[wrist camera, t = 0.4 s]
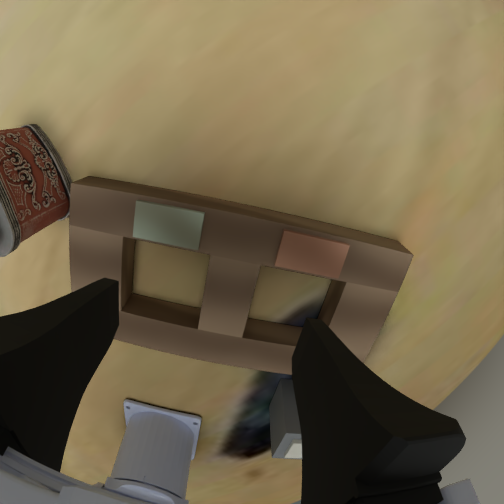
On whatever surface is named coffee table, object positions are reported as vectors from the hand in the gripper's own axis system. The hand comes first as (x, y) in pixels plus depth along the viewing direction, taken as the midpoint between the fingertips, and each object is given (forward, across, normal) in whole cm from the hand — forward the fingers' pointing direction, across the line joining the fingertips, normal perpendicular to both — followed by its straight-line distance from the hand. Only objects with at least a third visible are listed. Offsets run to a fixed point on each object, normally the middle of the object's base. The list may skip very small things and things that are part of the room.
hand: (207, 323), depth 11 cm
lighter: (+10, +14, -2) cm, 18 cm away
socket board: (+10, -1, +3) cm, 10 cm away
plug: (+10, -9, +14) cm, 19 cm away
